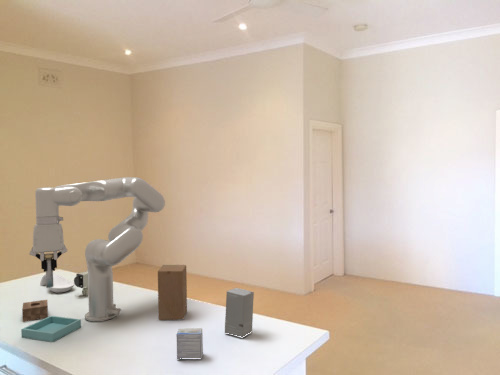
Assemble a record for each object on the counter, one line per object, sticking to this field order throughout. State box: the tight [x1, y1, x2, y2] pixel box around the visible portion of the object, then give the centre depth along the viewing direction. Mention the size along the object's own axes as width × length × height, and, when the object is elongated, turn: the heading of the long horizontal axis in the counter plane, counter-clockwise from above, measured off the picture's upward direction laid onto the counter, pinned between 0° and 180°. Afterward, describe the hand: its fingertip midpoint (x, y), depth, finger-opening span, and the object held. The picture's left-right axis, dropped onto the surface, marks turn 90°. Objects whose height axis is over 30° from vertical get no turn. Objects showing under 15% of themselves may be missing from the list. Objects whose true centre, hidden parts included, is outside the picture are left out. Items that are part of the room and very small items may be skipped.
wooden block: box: [157, 264, 188, 321], centre depth 167 cm, size 10×10×20 cm
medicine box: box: [175, 327, 204, 360], centre depth 131 cm, size 8×4×9 cm, turn 92°
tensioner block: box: [21, 299, 49, 323], centre depth 168 cm, size 9×9×5 cm
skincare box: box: [224, 287, 255, 337], centre depth 148 cm, size 8×7×16 cm
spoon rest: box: [39, 272, 75, 294], centre depth 206 cm, size 24×12×7 cm, turn 53°
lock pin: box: [44, 252, 54, 289], centre depth 151 cm, size 4×4×12 cm
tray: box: [20, 315, 82, 343], centre depth 151 cm, size 14×14×3 cm
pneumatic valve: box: [73, 269, 88, 297], centre depth 196 cm, size 6×12×12 cm, turn 144°
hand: (49, 270), depth 151 cm, fingers closed on lock pin, 2 cm apart
